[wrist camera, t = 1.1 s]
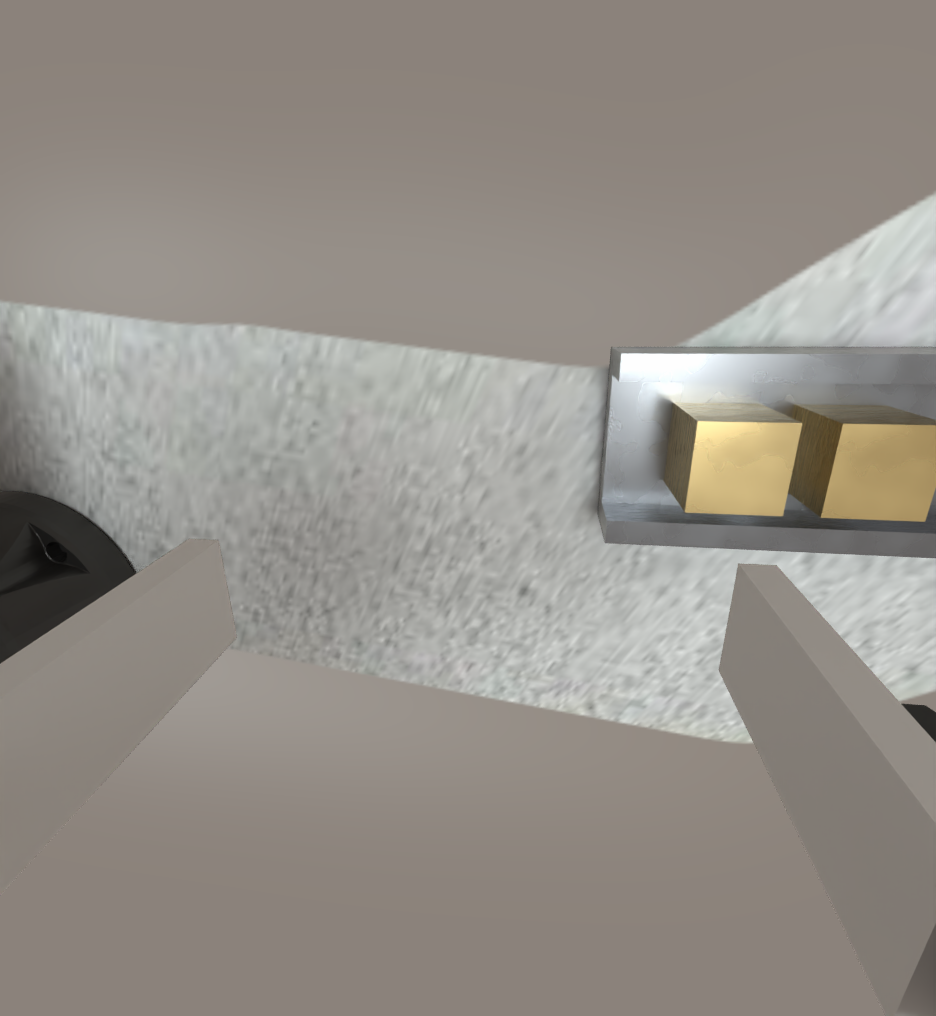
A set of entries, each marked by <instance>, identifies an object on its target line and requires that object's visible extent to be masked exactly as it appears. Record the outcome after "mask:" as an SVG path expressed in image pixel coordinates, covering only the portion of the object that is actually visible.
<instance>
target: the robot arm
mask: <svg viewBox="0 0 936 1016" xmlns="http://www.w3.org/2000/svg"><path fill="white" fill-rule="evenodd" d="M236 638H237V635H236V629H235V624H234V619H233V614H232V608H231V603H230V598H229V592H228V587H227V582H226V577H225V571H224V566H223V561H222V555H221V550H220V545H219V540H207V539H188V540H186V541H185V542H183V543H182V544H180V545H179V546H177V547H176V548H174V549H173V550H171V551H170V552H168V553H167V554H165V555H164V556H162V557H161V558H159V559H158V560H156V561H155V562H153V563H152V564H150V565H149V566H147V567H146V568H144V569H143V570H141V571H140V572H138V573H137V574H134V572H133V570H132V568H131V567H130V565H129V563H128V562H127V560H126V559H125V557H124V556H123V555H122V553H121V552H120V551H119V549H118V548H117V547H116V546H115V545H114V544H113V542H112V541H111V540H110V539H109V538H108V537H107V536H106V535H105V534H104V533H103V532H101V531H100V530H99V529H98V528H97V527H96V526H95V525H93V524H92V523H91V522H89V521H88V520H87V519H85V518H84V517H83V516H81V515H80V514H78V513H76V512H75V511H73V510H71V509H70V508H68V507H66V506H64V505H62V504H60V503H57V502H55V501H53V500H50V499H48V498H45V497H41V496H38V495H34V494H30V493H24V492H14V491H4V492H0V895H1V894H2V893H3V892H4V891H5V890H6V888H7V887H8V886H9V885H10V884H11V883H12V882H13V881H14V880H15V879H16V877H17V876H18V875H19V874H20V873H21V872H22V871H23V870H24V869H25V868H26V866H27V865H28V864H29V863H30V862H31V861H32V860H33V859H34V858H35V857H36V856H37V855H38V854H39V852H40V851H41V850H42V849H43V848H44V847H45V846H46V845H47V844H48V843H49V842H50V840H51V839H52V838H53V837H54V836H55V835H56V834H57V833H58V832H59V831H60V829H62V827H63V826H64V825H65V824H66V823H67V822H68V821H69V820H70V819H71V817H73V815H74V814H75V813H76V812H77V811H78V810H79V809H80V808H81V807H82V806H83V805H84V803H85V802H86V801H87V800H88V799H89V798H90V797H91V796H92V795H93V794H94V793H95V791H96V790H97V789H98V788H99V787H100V786H101V785H102V784H103V783H104V782H105V781H106V779H107V778H108V777H109V776H110V775H111V774H112V773H113V772H114V771H115V770H116V768H118V766H119V765H120V764H121V763H122V762H123V761H124V760H125V759H126V758H127V757H128V756H129V754H130V753H131V752H132V751H133V750H134V749H135V748H136V747H137V745H139V743H140V742H141V741H142V740H143V739H144V738H145V737H146V736H147V735H148V734H149V733H150V731H151V730H152V729H153V728H154V727H155V726H156V725H157V724H158V723H159V722H160V721H161V719H162V718H163V717H164V716H165V715H166V714H167V713H168V712H169V711H170V710H171V709H172V708H173V706H174V705H175V704H176V703H177V702H178V701H179V700H180V699H181V698H182V697H183V696H184V695H185V693H186V692H187V691H188V690H189V689H190V688H191V687H192V686H193V685H194V684H195V683H196V681H197V680H198V679H199V678H200V677H201V676H202V675H203V674H204V673H205V671H207V669H208V668H209V667H210V666H211V665H212V664H213V663H214V662H215V661H216V660H217V659H218V657H219V656H220V655H221V654H222V653H223V652H224V651H225V650H226V649H227V648H228V647H229V645H230V644H231V643H232V642H233V641H234V640H235V639H236ZM719 672H720V674H721V676H722V678H723V680H724V683H725V685H726V687H727V689H728V691H729V693H730V695H731V697H732V699H733V701H734V703H735V705H736V707H737V709H738V712H739V714H740V716H741V718H742V720H743V722H744V724H745V726H746V728H747V730H748V732H749V734H750V736H751V738H752V741H753V743H754V745H755V747H756V749H757V751H758V753H759V755H760V757H761V759H762V761H763V763H764V765H765V767H766V770H767V771H768V774H769V776H770V778H771V780H772V782H773V784H774V786H775V788H776V790H777V792H778V794H779V796H780V799H781V801H782V803H783V805H784V807H785V809H786V811H787V813H788V815H789V817H790V819H791V821H792V823H793V825H794V827H795V830H796V832H797V834H798V836H799V838H800V840H801V842H802V844H803V846H804V848H805V850H806V852H807V854H808V857H809V858H810V861H811V863H812V865H813V867H814V869H815V871H816V873H817V875H818V877H819V879H820V881H821V883H822V885H823V888H824V890H825V892H826V894H827V896H828V898H829V900H830V902H831V904H832V906H833V908H834V910H835V912H836V914H837V916H838V919H839V921H840V923H841V925H842V927H843V929H844V931H845V933H846V935H847V937H848V939H849V941H850V944H851V946H852V948H853V950H854V952H855V954H856V956H857V958H858V960H859V962H860V964H861V966H862V968H863V970H864V972H865V975H866V977H867V979H868V980H869V983H870V985H871V987H872V989H873V991H874V993H875V995H876V997H877V999H878V1001H879V1004H880V1006H881V1008H882V1010H883V1012H884V1014H885V1016H936V712H934V711H933V710H931V709H930V708H928V707H927V706H924V705H912V704H901V703H900V702H899V701H898V700H897V699H896V698H895V697H894V695H893V694H892V693H891V692H890V691H889V690H888V689H887V688H886V687H885V685H884V684H883V683H882V682H881V681H880V680H879V679H878V678H877V677H876V675H875V674H874V673H873V672H872V671H871V670H870V669H869V668H868V667H867V665H866V664H865V663H864V662H863V661H862V660H861V659H860V658H859V657H858V655H857V654H856V653H855V652H854V651H853V650H852V649H851V648H850V647H849V645H848V644H847V643H846V642H845V641H844V640H843V639H842V638H841V637H840V635H839V634H838V633H837V632H836V631H835V630H834V629H833V628H832V627H831V625H830V624H829V623H828V622H827V621H826V620H825V619H824V618H823V617H822V615H821V614H820V613H819V612H818V611H817V610H816V609H815V608H814V607H813V605H812V604H811V603H810V602H809V601H808V600H807V599H806V598H805V597H804V595H803V594H802V593H801V592H800V591H799V590H798V589H797V588H796V587H795V585H794V584H793V583H792V582H791V581H790V580H789V579H788V578H787V577H786V575H785V574H784V573H783V572H782V571H781V570H780V569H779V568H778V567H777V565H759V564H738V568H737V574H736V579H735V585H734V590H733V596H732V601H731V606H730V612H729V617H728V623H727V628H726V634H725V639H724V644H723V650H722V655H721V661H720V666H719Z"/></svg>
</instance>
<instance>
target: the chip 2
mask: <svg viewBox="0 0 936 1016" xmlns="http://www.w3.org/2000/svg"><path fill="white" fill-rule="evenodd" d="M792 418H793V419H795V420H797V421H799V422H801V423H802V428H801V433H800V438H799V442H798V447H797V452H796V456H795V461H794V466H793V471H792V475H791V480H790V485H789V490H788V493H789V494H791V495H792V496H793V497H795V498H796V499H797V500H798V501H800V502H801V503H802V504H804V505H805V506H806V507H808V508H809V509H810V510H811V511H813V512H814V513H815V514H817V515H818V516H819V517H820V518H840V519H866V520H893V521H919V522H925V521H926V517H927V514H928V511H929V508H930V504H931V501H932V498H933V495H934V492H935V488H936V420H934V419H931V418H927V417H924V416H921V415H917V414H914V413H910V412H907V411H904V410H900V409H897V408H893V407H890V406H886V405H809V404H794V409H793V414H792Z"/></svg>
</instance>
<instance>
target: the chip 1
mask: <svg viewBox="0 0 936 1016" xmlns="http://www.w3.org/2000/svg"><path fill="white" fill-rule="evenodd" d="M801 428H802V423H801V422H799V421H797V420H795V419H793V418H790V417H788V416H786V415H784V414H782V413H780V412H777V411H775V410H773V409H771V408H769V407H766V406H764V405H762V404H731V403H673V411H672V419H671V427H670V435H669V443H668V451H667V459H666V467H665V475H664V482H665V484H666V485H667V487H668V488H669V490H670V491H671V493H672V494H673V496H674V497H675V499H676V500H677V502H678V503H679V505H680V506H681V508H682V509H683V511H684V512H685V513H708V514H735V515H761V516H783V513H784V509H785V504H786V499H787V494H788V490H789V485H790V480H791V475H792V471H793V466H794V461H795V456H796V452H797V447H798V442H799V438H800V433H801Z"/></svg>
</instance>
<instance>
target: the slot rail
mask: <svg viewBox="0 0 936 1016" xmlns="http://www.w3.org/2000/svg"><path fill="white" fill-rule="evenodd" d="M673 403H731V404H762V405H764V406H766V407H769V408H771V409H773V410H775V411H777V412H780V413H782V414H784V415H786V416H788V417H790V418H792V414H793V409H794V404H809V405H886V406H890V407H893V408H897V409H900V410H904V411H907V412H910V413H914V414H917V415H921V416H924V417H927V418H931V419H934V420H936V347H611V356H610V367H609V380H608V392H607V404H606V417H605V429H604V441H603V454H602V466H601V478H600V491H599V503H598V517H599V521H600V525H601V529H602V533H603V537H604V541H605V543H615V544H637V545H659V546H681V547H702V548H724V549H746V550H768V551H790V552H812V553H833V554H855V555H877V556H899V557H921V558H936V488H935V492H934V495H933V498H932V501H931V504H930V508H929V511H928V514H927V517H926V521H925V522H919V521H893V520H866V519H840V518H820V517H819V516H818V515H817V514H815V513H814V512H813V511H811V510H810V509H809V508H808V507H806V506H805V505H804V504H802V503H801V502H800V501H798V500H797V499H796V498H795V497H793V496H792V495H791V494H789V493H788V494H787V499H786V504H785V509H784V513H783V516H761V515H735V514H708V513H685V512H684V511H683V509H682V508H681V506H680V505H679V503H678V502H677V500H676V499H675V497H674V496H673V494H672V493H671V491H670V490H669V488H668V487H667V485H666V484H665V482H664V475H665V467H666V459H667V451H668V443H669V435H670V427H671V419H672V411H673Z"/></svg>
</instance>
